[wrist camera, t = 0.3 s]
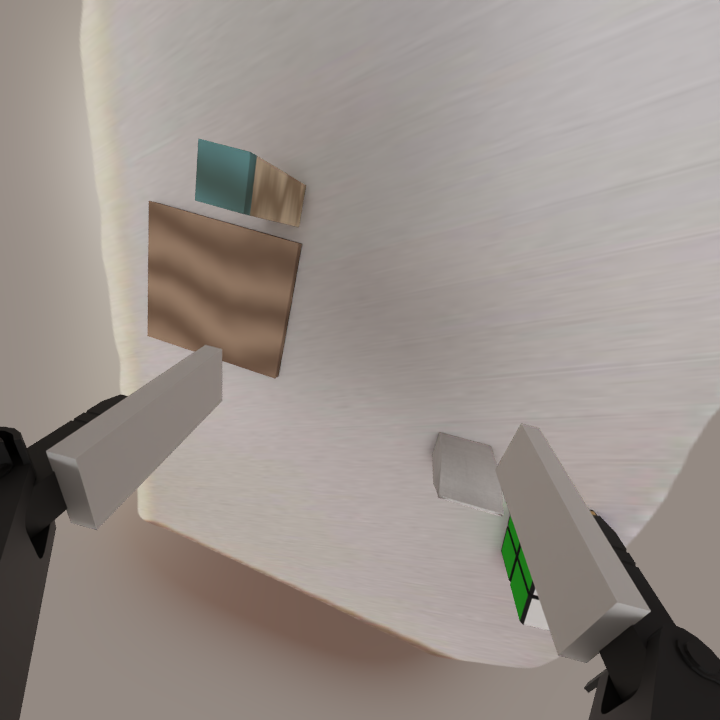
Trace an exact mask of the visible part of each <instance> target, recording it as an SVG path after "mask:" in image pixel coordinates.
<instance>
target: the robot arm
mask: <svg viewBox="0 0 720 720" xmlns="http://www.w3.org/2000/svg"><path fill="white" fill-rule="evenodd" d="M221 401H222V349H220V348H216V347H212V346H208V345H204V346H203V347H201V348H200V349H198V350H197V351H195V352H194V353H192V354H191V355H189V356H188V357H186V358H185V359H183V360H182V361H180V362H179V363H177V364H176V365H174V366H173V367H171V368H170V369H168V370H167V371H165V372H164V373H162V374H161V375H159V376H158V377H156V378H155V379H153V380H152V381H150V382H149V383H147V384H146V385H144V386H143V387H141V388H140V389H138V390H137V391H135V392H134V393H132V394H131V395H129V396H125V395H118V396H115V397H112V398H110V399H107V400H104V401H102V402H100V403H99V404H97V405H96V406H94V407H92V408H90V409H89V410H87V412H86V413H82V414H81V415H79V416H78V417H76V418H74V421H70V422H68V423H67V424H65V425H63V426H62V427H60V428H58V429H57V430H55V431H54V432H52V433H51V434H49V435H48V436H46V437H44V438H42V439H41V440H39V441H38V442H36V443H34V444H33V445H31V446H30V447H28V448H26V445H25V443H24V440H23V438H22V435H21V433H20V432H19V431H17V430H16V429H15V428H8V427H0V720H19V718H20V713H21V707H22V703H23V698H24V692H25V687H26V682H27V676H28V671H29V666H30V661H31V656H32V651H33V645H34V640H35V635H36V630H37V624H38V619H39V614H40V608H41V603H42V598H43V593H44V588H45V583H46V577H47V572H48V566H49V562H50V557H51V551H52V546H53V541H54V536H55V530H56V525H55V519H56V518H57V517H58V516H59V515H60V514H62V513H63V512H64V511H65V510H67V513H68V516H69V518H70V521H71V523H73V524H77V525H80V526H84V527H88V528H92V529H95V530H97V529H98V528H99V527H100V526H101V525H102V524H103V523H104V522H105V521H106V520H107V519H108V518H109V517H110V516H111V515H112V514H113V513H114V512H115V510H116V509H117V508H118V507H119V506H120V505H121V504H122V503H123V502H124V501H125V500H126V499H127V498H128V497H129V496H130V495H131V494H132V493H133V492H134V491H135V490H136V489H137V488H138V487H139V486H140V485H141V484H142V483H143V482H144V481H145V480H146V479H147V478H148V477H149V476H150V475H151V474H152V472H153V471H154V470H155V469H156V468H157V467H158V466H159V465H160V464H161V463H162V462H163V461H164V460H165V459H166V458H167V457H168V456H169V455H170V454H171V453H172V452H173V451H174V450H175V449H176V448H177V447H178V446H179V445H180V444H181V443H182V442H183V441H184V440H185V439H186V437H187V436H188V435H189V434H190V433H191V432H192V431H193V430H194V429H195V428H196V427H197V426H198V425H199V424H200V423H201V422H202V421H203V420H204V419H205V418H206V417H207V416H208V415H209V414H210V413H211V412H212V411H213V410H214V409H215V408H216V407H217V406H218V405H219V404H220V402H221ZM495 471H496V474H497V477H498V480H499V483H500V486H501V489H502V492H503V495H504V498H505V500H506V503H507V506H508V509H509V512H510V515H511V518H512V521H513V524H514V527H515V530H516V533H517V536H518V539H519V542H520V544H521V547H522V550H523V553H524V556H525V559H526V562H527V565H528V568H529V571H530V574H531V577H532V580H533V583H534V586H535V588H536V591H537V594H538V597H539V600H540V603H541V606H542V609H543V612H544V615H545V618H546V621H547V624H548V627H549V630H550V633H551V635H552V638H553V641H554V644H555V647H556V650H557V653H558V655H559V656H562V657H566V658H570V659H574V660H577V661H581V662H584V663H587V662H589V661H590V660H591V659H592V658H594V657H595V656H596V655H597V654H599V653H600V654H601V657H602V659H603V661H604V664H605V666H606V668H607V669H605V670H604V671H603V672H601V673H600V674H599V675H597V676H596V677H595V678H593V679H592V680H591V681H589V682H588V683H587V685H586V686H585V687H584V689H586V690H587V691H588V692H590V691H592V690H593V689H594V688H597V689H596V693H595V697H594V701H593V705H592V709H591V713H590V717H589V720H720V659H719V658H718V657H717V656H716V655H715V654H714V652H713V651H712V650H711V649H710V648H709V647H707V646H706V645H705V644H704V643H703V642H702V641H701V640H699V639H698V638H697V637H696V636H694V635H693V634H691V633H689V632H688V631H686V630H685V629H683V628H680V627H678V626H676V625H675V623H674V622H673V620H672V619H671V617H670V616H669V614H668V613H667V611H666V610H665V608H664V606H663V605H662V604H661V602H660V600H659V599H658V597H657V596H656V594H655V593H654V591H653V590H652V588H651V587H650V585H649V584H648V582H647V580H646V579H645V577H644V576H643V574H642V573H641V571H640V569H639V568H638V567H636V566H635V562H634V560H633V559H632V557H631V556H630V554H629V553H627V552H626V548H625V546H624V545H623V543H622V542H621V540H620V539H619V537H618V536H617V534H616V532H615V531H614V530H613V529H612V528H611V527H610V526H609V525H608V524H607V523H606V522H605V521H604V520H603V519H602V518H601V517H600V516H596V515H593V514H591V512H590V510H589V509H588V507H587V505H586V504H585V502H584V501H583V499H582V497H581V496H580V494H579V492H578V491H577V489H576V487H575V486H574V484H573V482H572V481H571V479H570V478H569V476H568V474H567V473H566V471H565V469H564V468H563V466H562V464H561V463H560V461H559V460H558V458H557V456H556V455H555V453H554V451H553V450H552V448H551V446H550V445H549V443H548V441H547V440H546V438H545V437H544V435H543V433H542V432H541V430H540V428H537V427H533V426H529V425H525V424H521V425H520V427H519V428H518V430H517V432H516V434H515V436H514V437H513V439H512V441H511V443H510V444H509V446H508V448H507V450H506V452H505V453H504V455H503V457H502V459H501V461H500V462H499V464H498V466H497V468H496V469H495Z"/></svg>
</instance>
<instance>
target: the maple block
mask: <svg viewBox="0 0 720 720" xmlns="http://www.w3.org/2000/svg"><path fill="white" fill-rule="evenodd" d="M305 188H306V185H304V184H303V183H301V182H299V181H298V180H296V179H294V178H293V177H291V176H289V175H288V174H286V173H284V172H283V171H281V170H279V169H278V168H276V167H274V166H273V165H271V164H269V163H268V162H266V161H265V160H263V159H261V158H260V157H258V156H256V155H255V154H253V153H251V152H248V151H244V150H241V149H237V148H233V147H229V146H225V145H221V144H217V143H213V142H210V141H206V140H202V139H199V140H198V157H197V175H196V192H195V200H196V201H199V202H203V203H206V204H210V205H213V206H217V207H221V208H224V209H228V210H231V211H235V212H238V213H242V214H246V215H250V216H254V217H258V218H263V219H267V220H271V221H275V222H279V223H284V224H288V225H292V226H296V227H299V223H300V217H301V212H302V206H303V200H304V194H305Z"/></svg>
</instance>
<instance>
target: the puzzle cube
mask: <svg viewBox="0 0 720 720" xmlns="http://www.w3.org/2000/svg"><path fill="white" fill-rule="evenodd" d="M590 512H591V514H593V515H596V513H595V512H594V511H590ZM596 516H597V515H596ZM508 526H509V527H508V528H507V531H506V535H505V539H504V543H503V547H502V550H501V551H502V555H503V559H504V563H505V567H506V571H507V574H508V578H509V581H510V582H511V584H510V586H511V590H512V593H513V597H514V601H515V605H516V609H517V612H518V616H519V620H520V622H521V623H522V624H523V625H527V626H531V627H536V628H540V629H544V630H548V631H550V630H549V627H548V624H547V621H546V618H545V615H544V612H543V609H542V606H541V603H540V600H539V597H538V594H537V591H536V588H535V586H534V583H533V580H532V577H531V574H530V571H529V568H528V565H527V562H526V559H525V556H524V553H523V550H522V547H521V544H520V542H519V539H518V536H517V533H516V530H515V527H514V524H513V521H512V518H511V515H510V519H509V523H508Z"/></svg>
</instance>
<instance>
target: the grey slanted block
mask: <svg viewBox="0 0 720 720" xmlns="http://www.w3.org/2000/svg"><path fill="white" fill-rule="evenodd" d="M432 461H433V484H434V486H435V488H436V490H437V494H438V498H440V499H443V500H447V501H450V502H453V503H457V504H460V505H464V506H467V507H470V508H474V509H477V510H481V511H484V512H488V513H491V514H494V515H498V516H501V517H503V516H502V514H504V510H503V501H502V489H501V486H500V483H499V480H498V477H497V474H496V471H495V469H496V468H497V463H496V460H495V457H494V454H493V451H492V448H491V446H489V445H486V444H482V443H478V442H474V441H471V440H467V439H463V438H459V437H456V436H452V435H448V434H444V433H441V432H439V435H438V438H437V441H436V445H435V448H434V451H433V454H432Z"/></svg>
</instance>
